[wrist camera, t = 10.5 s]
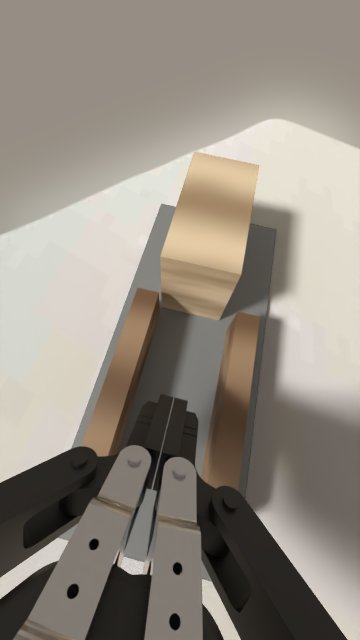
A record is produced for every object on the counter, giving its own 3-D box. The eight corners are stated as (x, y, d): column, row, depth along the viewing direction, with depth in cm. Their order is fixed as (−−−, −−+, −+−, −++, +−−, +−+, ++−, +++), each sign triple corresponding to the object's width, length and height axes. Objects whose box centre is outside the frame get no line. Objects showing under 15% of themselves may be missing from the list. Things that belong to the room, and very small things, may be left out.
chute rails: (141, 308, 22) (137, 287, 19) (245, 333, 22) (260, 316, 18) (76, 500, 17) (56, 517, 13) (215, 539, 16) (228, 566, 13)
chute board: (161, 207, 27) (161, 203, 27) (274, 232, 27) (276, 229, 26) (44, 529, 16) (40, 532, 16) (232, 583, 16) (234, 587, 15)
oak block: (186, 220, 26) (194, 151, 20) (235, 231, 26) (259, 165, 20) (161, 306, 22) (160, 256, 16) (218, 320, 22) (241, 274, 16)
